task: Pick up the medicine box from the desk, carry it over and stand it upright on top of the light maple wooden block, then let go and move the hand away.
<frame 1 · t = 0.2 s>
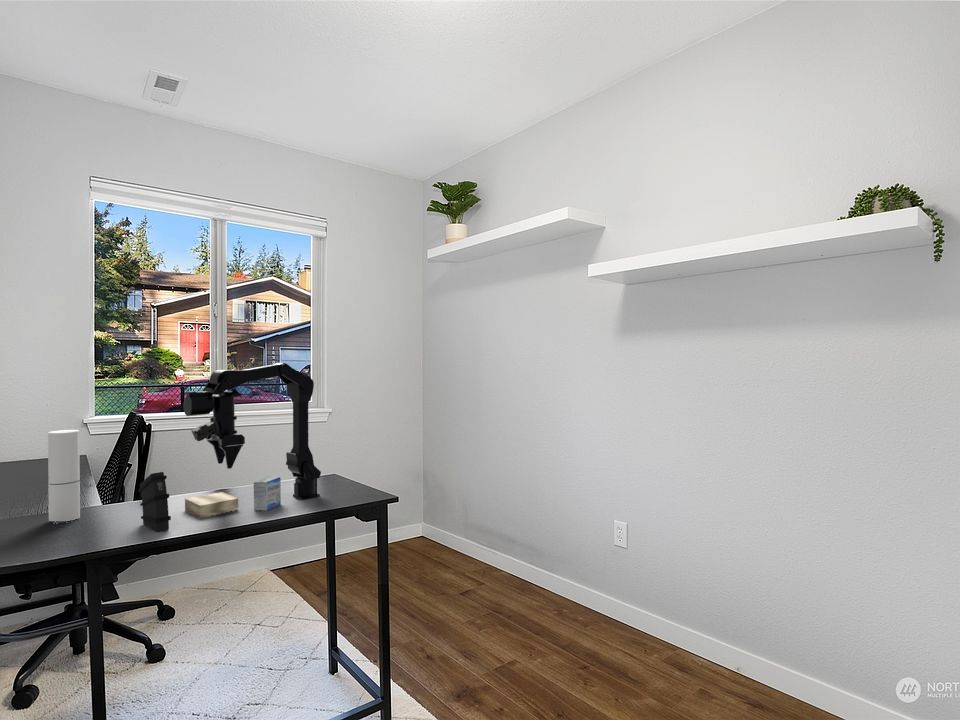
hand: (224, 465, 167), 14 cm above the table, tool pointing down, fingers open, 9 cm apart
maple block: (211, 511, 171), on the table
magazine: (154, 526, 155), on the table
cylindrical container: (64, 520, 161), on the table
medicine box: (267, 508, 174), on the table
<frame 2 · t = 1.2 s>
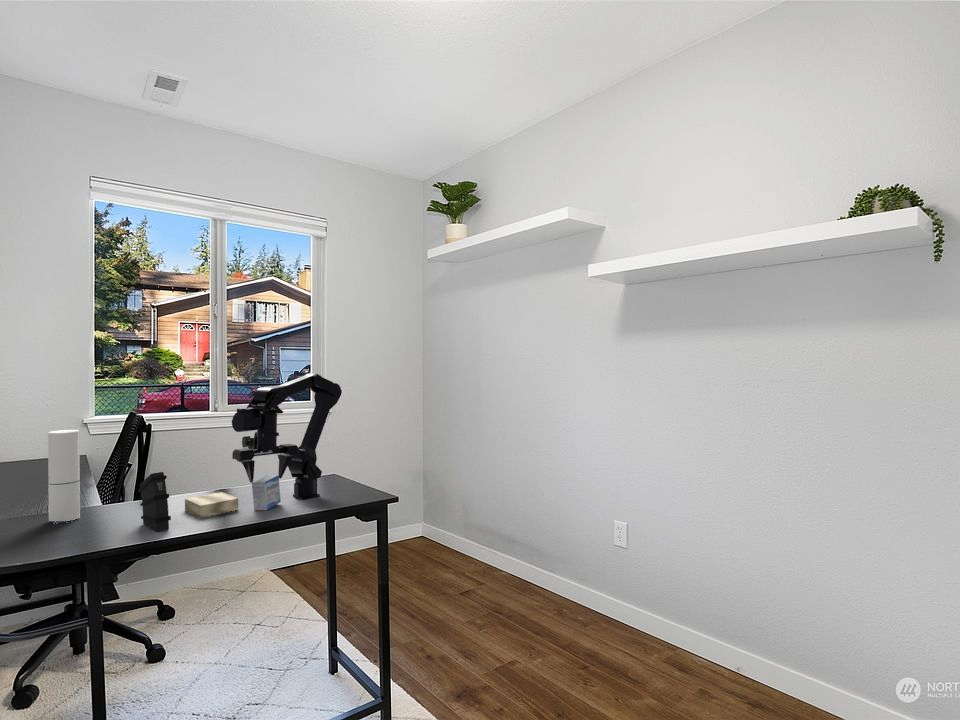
hand: (266, 480, 174), 8 cm above the table, tool pointing down, fingers open, 9 cm apart
medicine box: (267, 507, 174), on the table, touching gripper
everything else where it was.
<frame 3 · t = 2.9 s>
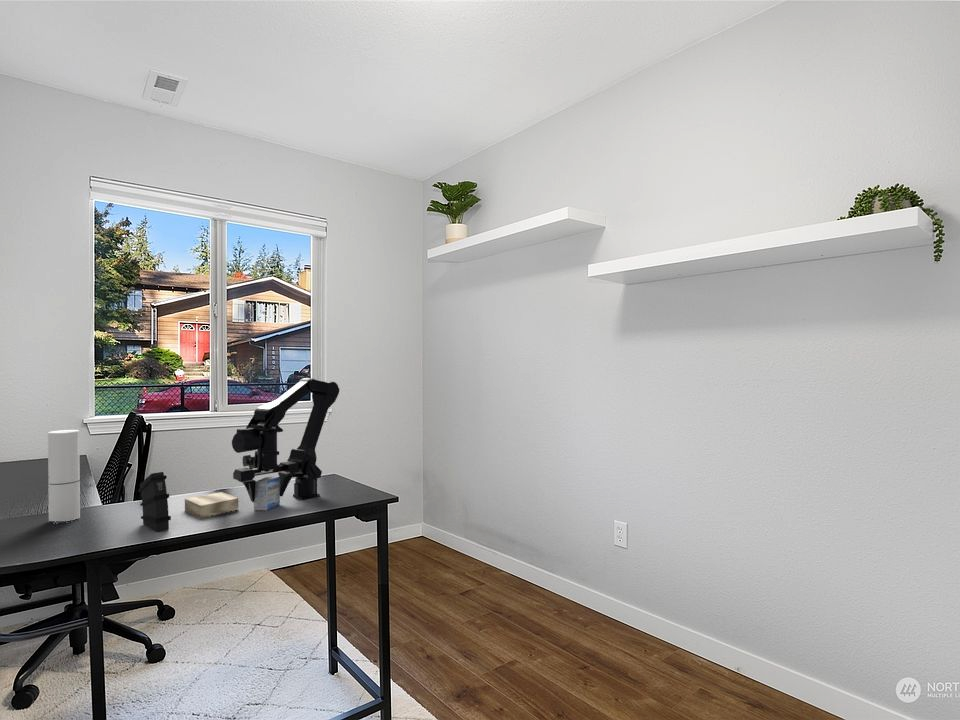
hand: (267, 499, 174), 3 cm above the table, tool pointing down, fingers closed on medicine box, 9 cm apart
medicine box: (267, 507, 174), on the table, touching gripper
everything else where it was.
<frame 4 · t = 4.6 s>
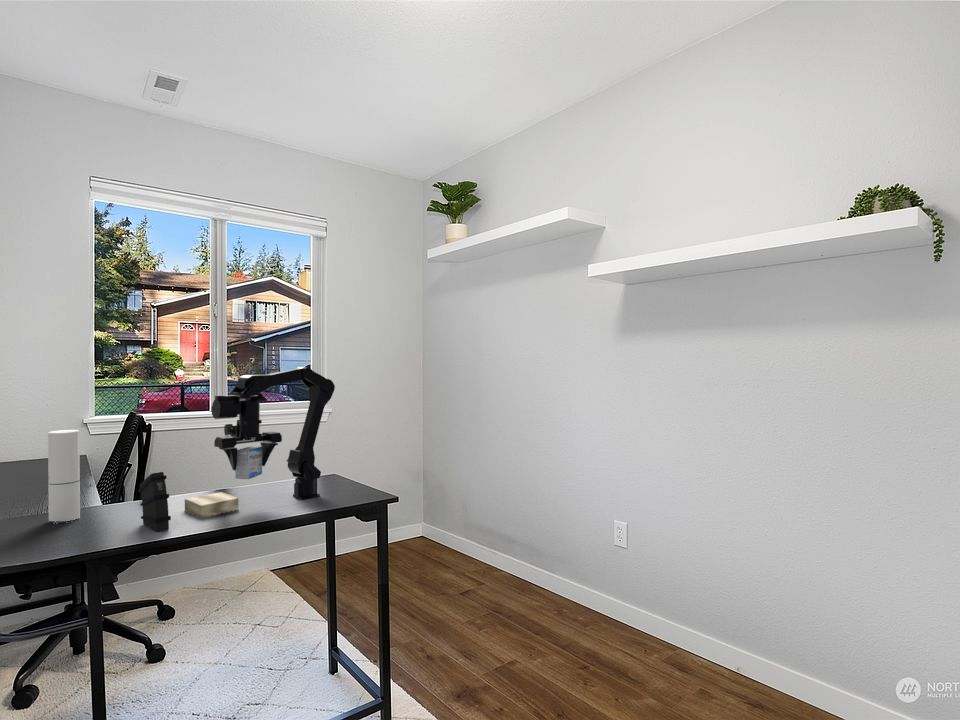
hand: (249, 468, 172), 12 cm above the table, tool pointing down, fingers closed on medicine box, 9 cm apart
medicine box: (248, 477, 173), point 10 cm above the table, touching gripper
everything else where it was.
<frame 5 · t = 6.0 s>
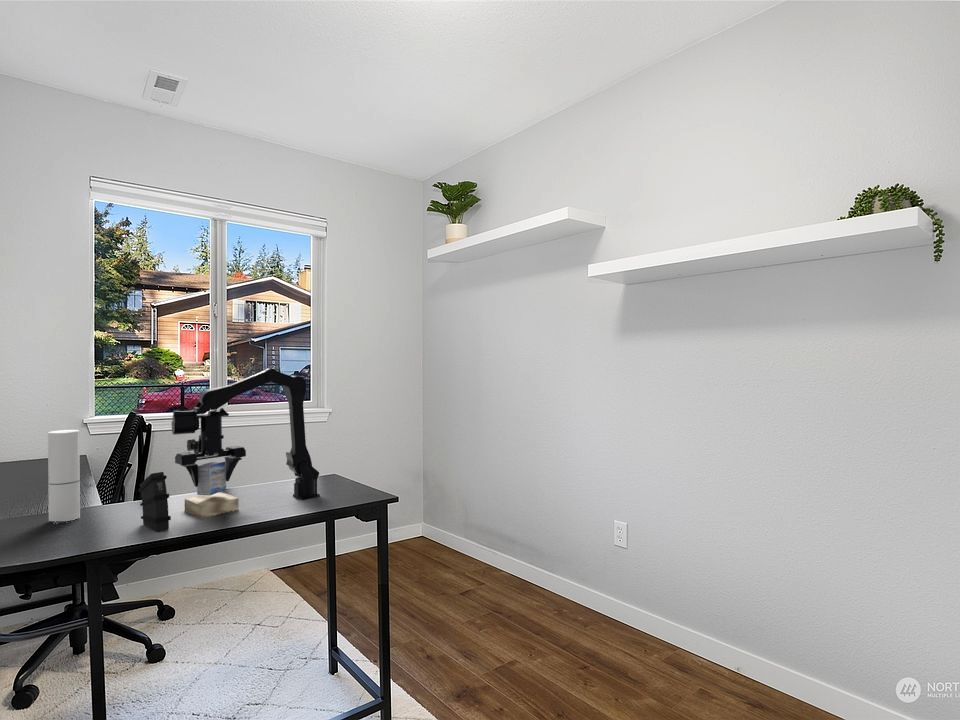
hand: (211, 483, 170), 8 cm above the table, tool pointing down, fingers closed on medicine box, 9 cm apart
medicine box: (211, 492, 171), point 5 cm above the table, touching gripper
everything else where it was.
when the fingers open (8 cm above the table, at t = 7.0 s): medicine box drops 2 cm, resting on maple block.
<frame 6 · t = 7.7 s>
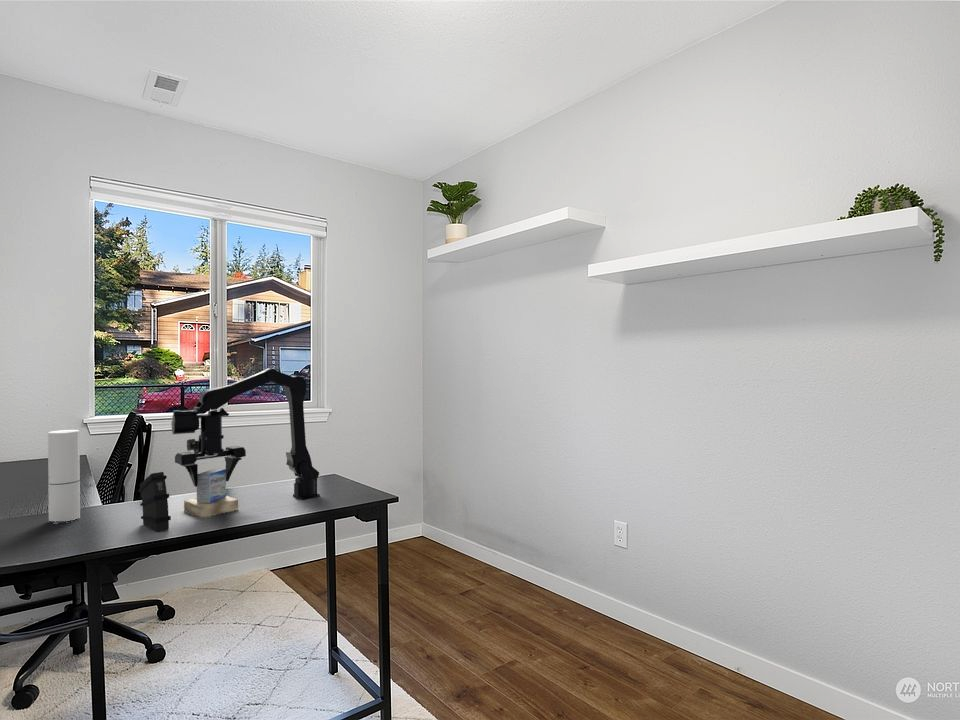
hand: (211, 483, 170), 8 cm above the table, tool pointing down, fingers open, 9 cm apart
maple block: (211, 513, 171), on the table, touching medicine box
medicine box: (211, 500, 170), point 3 cm above the table, touching gripper, maple block
everything else where it was.
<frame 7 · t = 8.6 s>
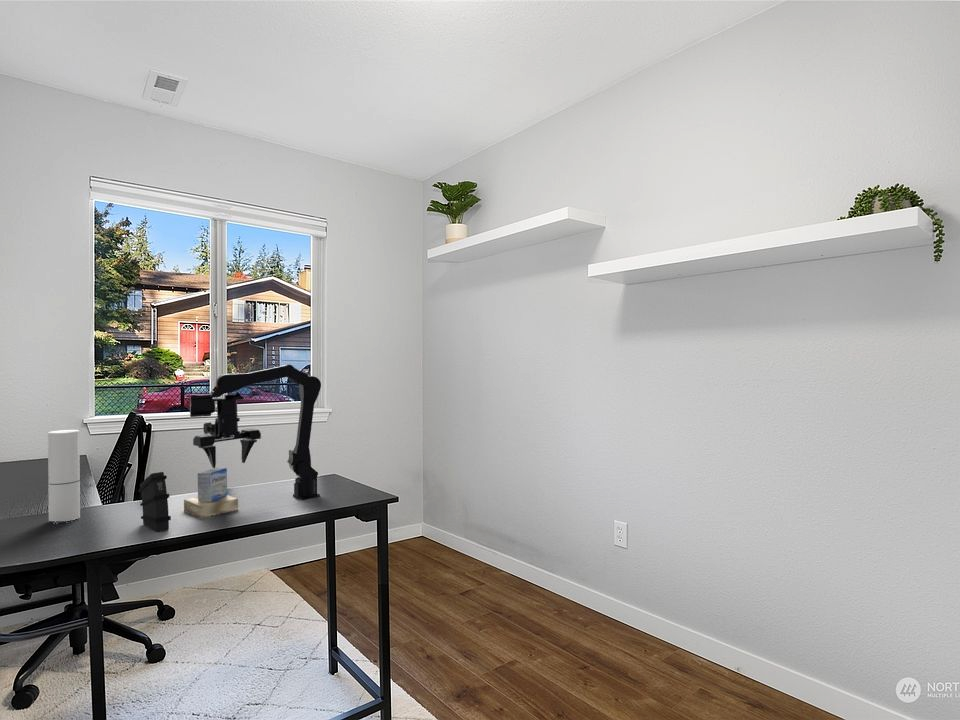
hand: (228, 465, 176), 12 cm above the table, tool pointing down, fingers open, 9 cm apart
medicine box: (212, 499, 171), point 3 cm above the table, touching maple block
everything else where it was.
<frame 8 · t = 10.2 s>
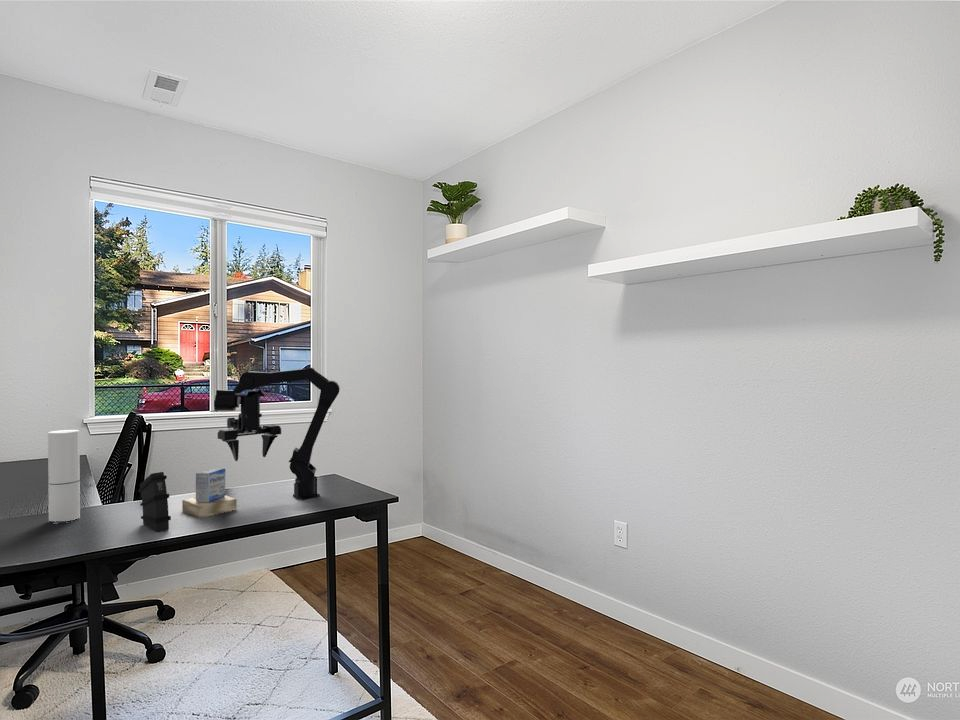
hand: (250, 458, 183), 13 cm above the table, tool pointing down, fingers open, 9 cm apart
maple block: (209, 512, 171), on the table
medicine box: (210, 499, 170), point 3 cm above the table
everything else where it was.
at the end: medicine box inside the target area on the maple block (0.4 cm from its centre), point 3.9 cm above the maple block's base; medicine box tilted 1°; the gripper is holding nothing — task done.
